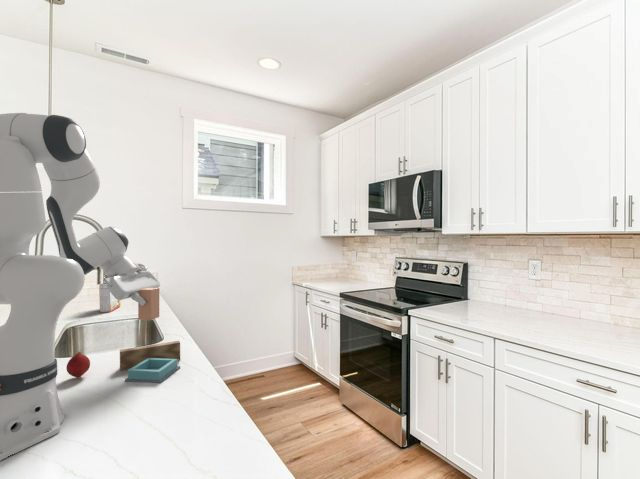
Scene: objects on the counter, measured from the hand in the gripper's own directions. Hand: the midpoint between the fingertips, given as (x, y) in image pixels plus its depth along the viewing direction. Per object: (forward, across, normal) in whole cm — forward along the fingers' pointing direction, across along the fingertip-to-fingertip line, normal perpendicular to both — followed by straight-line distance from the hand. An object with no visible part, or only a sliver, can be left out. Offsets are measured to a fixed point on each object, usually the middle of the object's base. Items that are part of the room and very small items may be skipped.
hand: (150, 302), depth 113 cm
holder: (+19, -8, +10) cm, 23 cm away
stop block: (+3, 0, +4) cm, 5 cm away
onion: (+4, -13, +25) cm, 29 cm away
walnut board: (+15, -1, +14) cm, 21 cm away
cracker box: (-37, +73, +64) cm, 104 cm away
